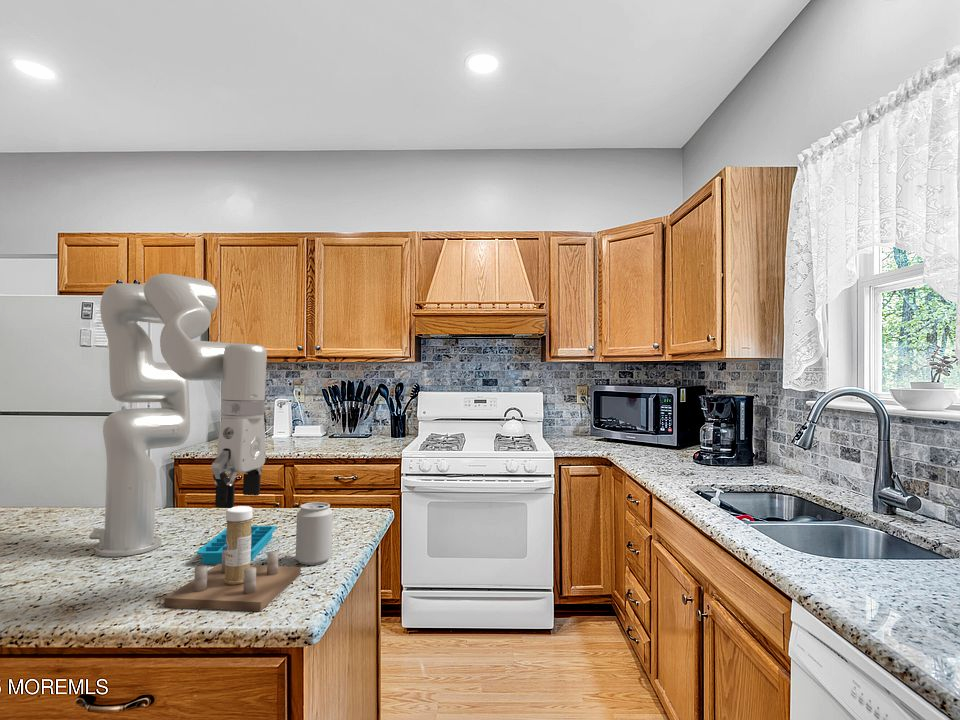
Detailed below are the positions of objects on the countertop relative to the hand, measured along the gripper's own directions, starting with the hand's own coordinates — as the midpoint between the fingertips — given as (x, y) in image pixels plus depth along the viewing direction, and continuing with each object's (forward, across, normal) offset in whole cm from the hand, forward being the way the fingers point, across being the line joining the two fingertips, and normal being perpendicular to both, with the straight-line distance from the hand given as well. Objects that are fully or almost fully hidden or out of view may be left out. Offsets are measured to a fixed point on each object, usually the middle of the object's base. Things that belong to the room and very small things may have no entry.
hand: (238, 500), depth 101 cm
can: (+16, +16, -9) cm, 25 cm away
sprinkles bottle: (+15, 0, -1) cm, 15 cm away
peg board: (+16, 0, -1) cm, 16 cm away
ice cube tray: (+17, +22, +10) cm, 30 cm away
